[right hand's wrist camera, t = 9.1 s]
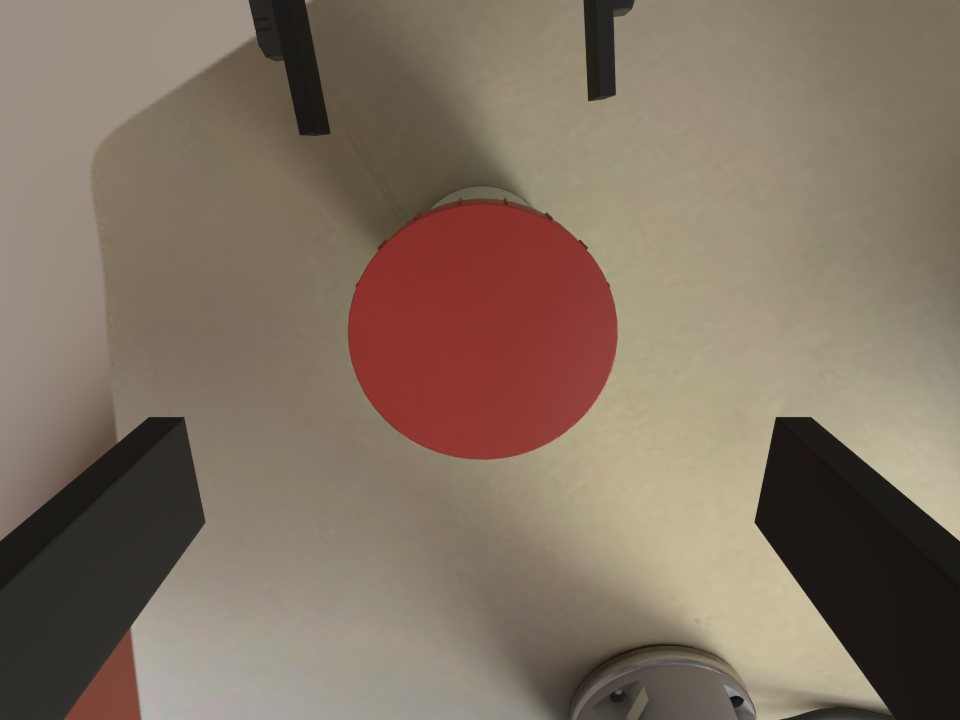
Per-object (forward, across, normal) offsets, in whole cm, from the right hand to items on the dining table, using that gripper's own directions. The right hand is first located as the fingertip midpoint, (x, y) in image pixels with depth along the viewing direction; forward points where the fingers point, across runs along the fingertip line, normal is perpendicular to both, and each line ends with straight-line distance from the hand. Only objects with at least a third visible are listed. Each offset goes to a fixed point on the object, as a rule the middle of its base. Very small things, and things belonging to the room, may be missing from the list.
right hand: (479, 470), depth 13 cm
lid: (+9, 0, 0) cm, 9 cm away
